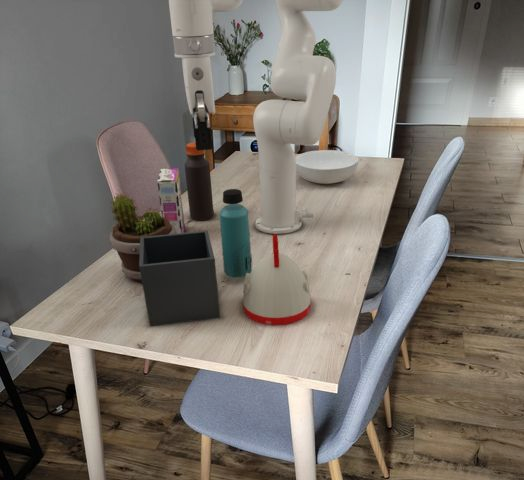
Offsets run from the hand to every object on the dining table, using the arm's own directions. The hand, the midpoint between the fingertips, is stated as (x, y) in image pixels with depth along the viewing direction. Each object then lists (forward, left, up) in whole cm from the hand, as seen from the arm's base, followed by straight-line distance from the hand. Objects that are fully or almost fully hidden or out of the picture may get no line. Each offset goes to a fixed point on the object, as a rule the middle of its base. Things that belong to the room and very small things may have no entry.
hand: (203, 143), depth 108 cm
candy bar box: (+8, -24, -29) cm, 38 cm away
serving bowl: (-43, -59, -29) cm, 78 cm away
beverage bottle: (-5, +4, -29) cm, 30 cm away
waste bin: (+8, +14, -29) cm, 33 cm away
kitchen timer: (-11, +19, -29) cm, 37 cm away
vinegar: (0, -36, -29) cm, 46 cm away
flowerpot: (+15, -3, -29) cm, 33 cm away
